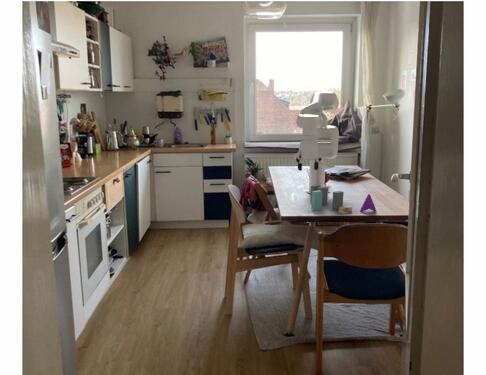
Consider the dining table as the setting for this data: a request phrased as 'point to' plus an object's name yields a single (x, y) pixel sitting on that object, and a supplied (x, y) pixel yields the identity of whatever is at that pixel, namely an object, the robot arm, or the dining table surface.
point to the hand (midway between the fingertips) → (307, 170)
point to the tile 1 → (314, 188)
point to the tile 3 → (337, 200)
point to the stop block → (345, 209)
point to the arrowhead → (368, 204)
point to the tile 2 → (324, 194)
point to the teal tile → (316, 200)
